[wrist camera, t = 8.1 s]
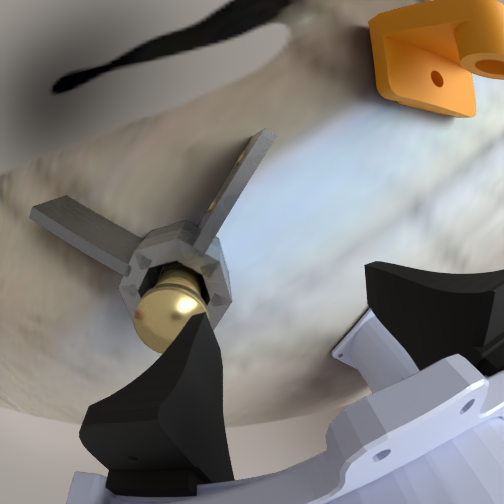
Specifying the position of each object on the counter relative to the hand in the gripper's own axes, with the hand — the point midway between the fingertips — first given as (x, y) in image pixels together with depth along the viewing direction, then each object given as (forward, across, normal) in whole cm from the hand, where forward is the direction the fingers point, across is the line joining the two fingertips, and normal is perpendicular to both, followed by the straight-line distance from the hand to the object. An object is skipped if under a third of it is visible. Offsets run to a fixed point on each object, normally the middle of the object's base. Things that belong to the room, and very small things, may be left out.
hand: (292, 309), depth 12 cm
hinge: (+10, +6, -5) cm, 13 cm away
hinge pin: (+10, +6, 0) cm, 12 cm away
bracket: (+11, -18, -12) cm, 24 cm away
